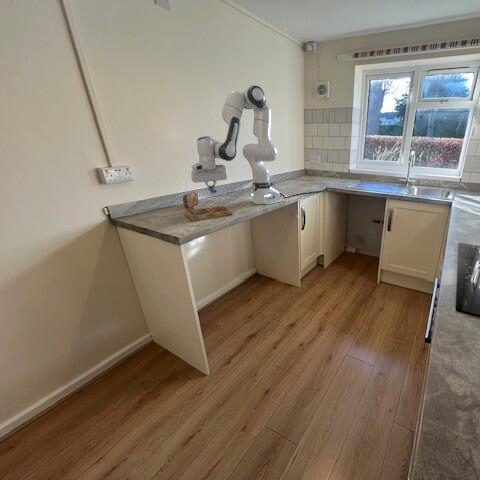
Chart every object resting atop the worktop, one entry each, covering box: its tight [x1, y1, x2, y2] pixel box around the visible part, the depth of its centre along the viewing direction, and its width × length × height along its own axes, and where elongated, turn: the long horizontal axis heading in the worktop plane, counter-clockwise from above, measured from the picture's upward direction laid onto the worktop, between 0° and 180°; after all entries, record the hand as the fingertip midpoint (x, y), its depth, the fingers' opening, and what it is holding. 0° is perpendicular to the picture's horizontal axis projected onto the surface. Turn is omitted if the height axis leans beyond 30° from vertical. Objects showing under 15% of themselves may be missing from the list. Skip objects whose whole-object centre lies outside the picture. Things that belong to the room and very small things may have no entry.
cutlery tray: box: [184, 205, 233, 222], centre depth 151 cm, size 22×14×3 cm, turn 129°
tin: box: [182, 191, 199, 209], centre depth 168 cm, size 15×3×8 cm, turn 179°
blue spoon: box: [207, 185, 218, 194], centre depth 161 cm, size 10×4×3 cm, turn 38°
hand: (211, 188), depth 161 cm, fingers closed on blue spoon
